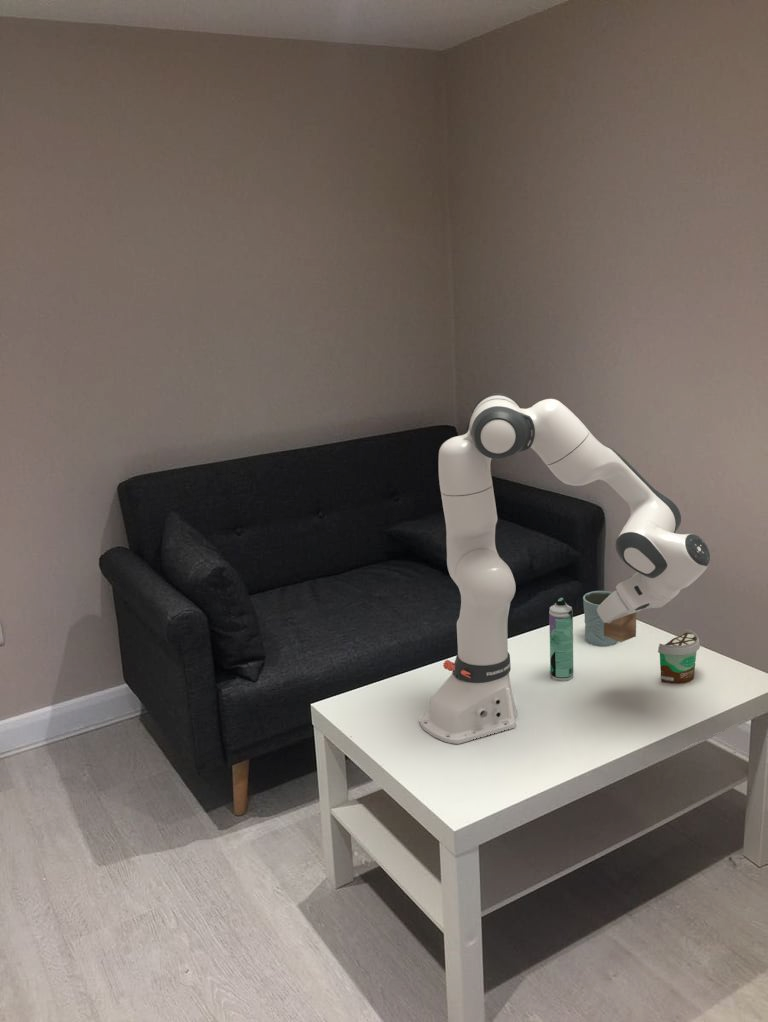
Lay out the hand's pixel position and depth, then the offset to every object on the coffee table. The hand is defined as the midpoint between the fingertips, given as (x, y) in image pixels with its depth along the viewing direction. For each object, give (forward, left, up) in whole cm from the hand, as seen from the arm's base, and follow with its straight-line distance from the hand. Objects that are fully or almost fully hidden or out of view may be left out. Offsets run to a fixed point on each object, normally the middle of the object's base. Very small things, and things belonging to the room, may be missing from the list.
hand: (617, 616), depth 208 cm
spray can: (-4, +14, -19) cm, 24 cm away
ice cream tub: (+16, -6, -19) cm, 26 cm away
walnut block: (0, -1, -5) cm, 5 cm away
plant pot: (+19, +22, -19) cm, 35 cm away
